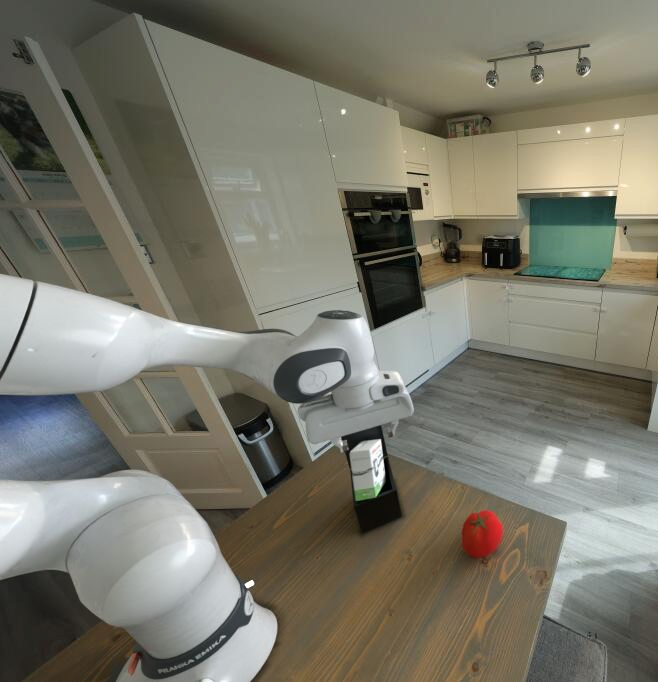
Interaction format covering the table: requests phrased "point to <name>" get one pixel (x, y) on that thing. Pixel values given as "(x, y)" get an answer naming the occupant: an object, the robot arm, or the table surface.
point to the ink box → (367, 469)
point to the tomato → (481, 534)
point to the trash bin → (378, 504)
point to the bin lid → (364, 435)
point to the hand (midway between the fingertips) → (368, 442)
